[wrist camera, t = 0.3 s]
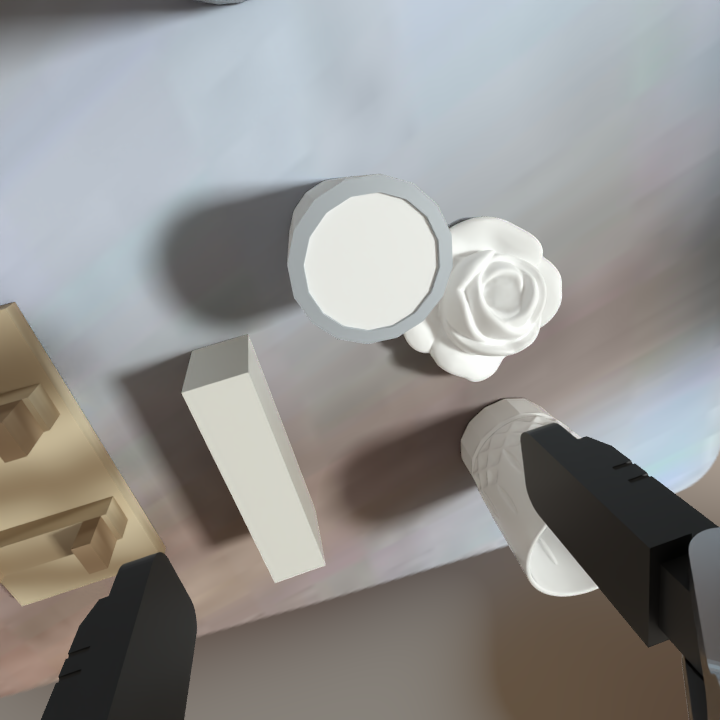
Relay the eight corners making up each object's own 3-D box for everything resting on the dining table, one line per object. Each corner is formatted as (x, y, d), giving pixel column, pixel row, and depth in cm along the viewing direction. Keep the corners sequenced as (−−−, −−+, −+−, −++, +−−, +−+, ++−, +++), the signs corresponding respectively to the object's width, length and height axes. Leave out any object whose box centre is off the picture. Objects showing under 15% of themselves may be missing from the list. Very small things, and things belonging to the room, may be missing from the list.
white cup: (544, 371, 32) (658, 462, 23) (559, 454, 35) (663, 559, 27) (439, 418, 31) (513, 528, 23) (465, 496, 35) (538, 616, 26)
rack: (-181, 354, 22) (-276, 403, 18) (15, 301, 23) (-35, 337, 19) (28, 592, 30) (-4, 661, 26) (165, 547, 31) (153, 608, 27)
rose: (432, 424, 26) (400, 260, 22) (408, 387, 30) (376, 241, 25) (592, 371, 27) (594, 203, 22) (548, 341, 31) (542, 193, 26)
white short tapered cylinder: (397, 295, 27) (442, 343, 21) (278, 296, 25) (287, 347, 19) (410, 167, 24) (467, 178, 18) (276, 159, 22) (286, 168, 16)
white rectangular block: (192, 349, 26) (181, 393, 21) (248, 332, 26) (248, 372, 22) (271, 522, 32) (274, 583, 28) (314, 507, 33) (325, 565, 28)
